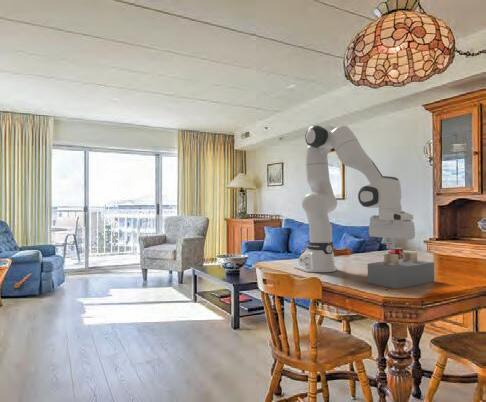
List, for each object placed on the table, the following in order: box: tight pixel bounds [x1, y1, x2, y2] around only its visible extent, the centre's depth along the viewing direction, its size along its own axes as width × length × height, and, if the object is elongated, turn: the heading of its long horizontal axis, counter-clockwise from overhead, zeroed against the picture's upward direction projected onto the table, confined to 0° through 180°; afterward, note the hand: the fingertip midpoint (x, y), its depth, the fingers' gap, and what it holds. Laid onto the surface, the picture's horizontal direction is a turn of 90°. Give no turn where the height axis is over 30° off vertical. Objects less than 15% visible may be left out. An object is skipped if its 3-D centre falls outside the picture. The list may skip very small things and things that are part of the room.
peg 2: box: [403, 251, 418, 263], centre depth 163 cm, size 4×4×7 cm
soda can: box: [387, 246, 405, 259], centre depth 180 cm, size 7×7×12 cm
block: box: [367, 259, 435, 290], centre depth 160 cm, size 14×24×8 cm, turn 120°
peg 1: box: [383, 253, 399, 266], centre depth 157 cm, size 4×4×7 cm
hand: (391, 249), depth 157 cm, fingers closed
